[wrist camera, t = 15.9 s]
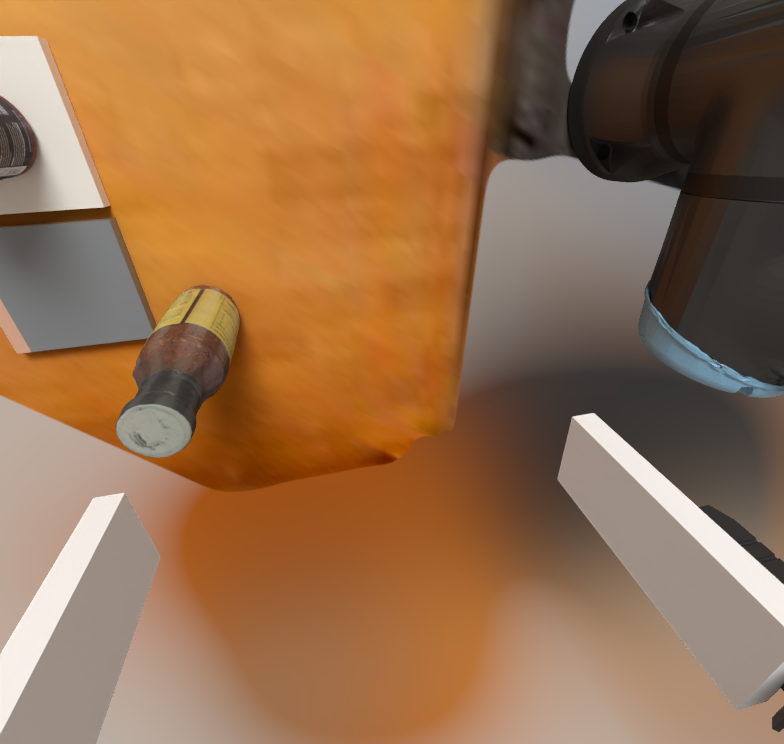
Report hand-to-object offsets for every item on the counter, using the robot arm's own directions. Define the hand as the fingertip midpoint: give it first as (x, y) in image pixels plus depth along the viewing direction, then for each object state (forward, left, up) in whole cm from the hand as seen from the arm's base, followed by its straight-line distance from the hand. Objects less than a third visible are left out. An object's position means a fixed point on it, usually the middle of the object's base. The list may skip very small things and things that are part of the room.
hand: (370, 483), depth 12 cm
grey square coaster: (+23, +1, -32) cm, 39 cm away
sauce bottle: (+12, +5, -32) cm, 34 cm away
